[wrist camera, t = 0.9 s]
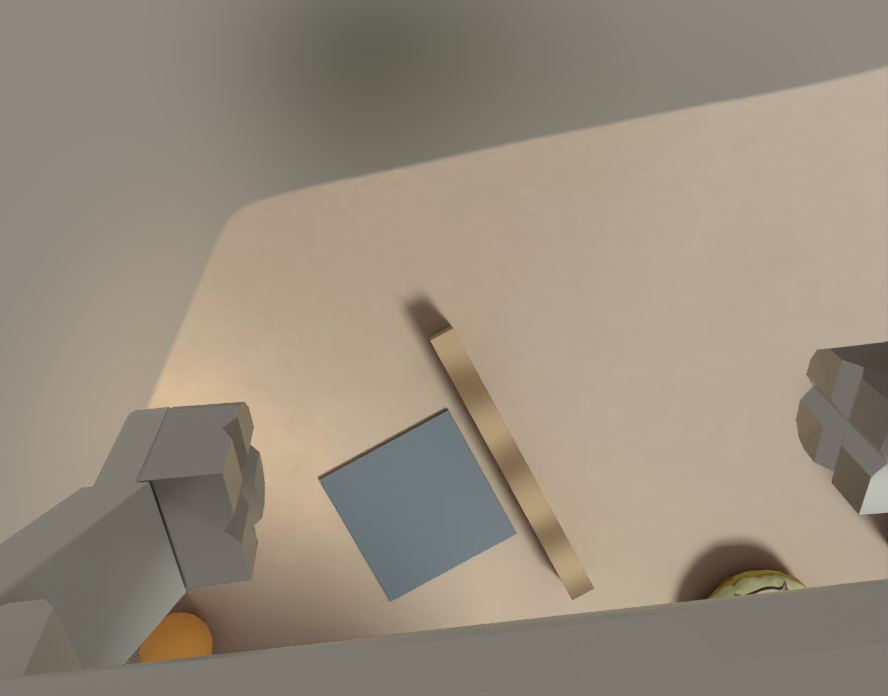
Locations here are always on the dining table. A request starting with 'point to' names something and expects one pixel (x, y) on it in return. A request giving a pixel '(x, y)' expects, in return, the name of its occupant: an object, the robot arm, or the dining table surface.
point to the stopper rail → (510, 461)
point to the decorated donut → (755, 583)
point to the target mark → (418, 505)
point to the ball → (177, 639)
